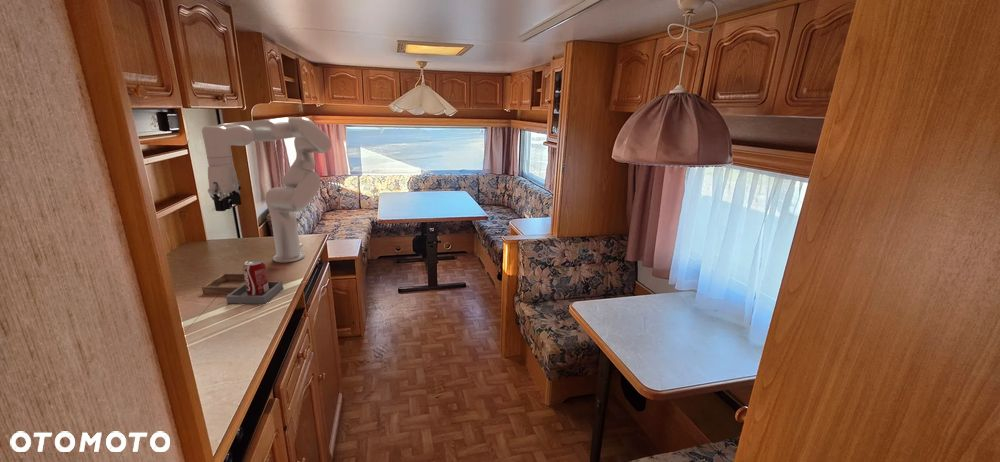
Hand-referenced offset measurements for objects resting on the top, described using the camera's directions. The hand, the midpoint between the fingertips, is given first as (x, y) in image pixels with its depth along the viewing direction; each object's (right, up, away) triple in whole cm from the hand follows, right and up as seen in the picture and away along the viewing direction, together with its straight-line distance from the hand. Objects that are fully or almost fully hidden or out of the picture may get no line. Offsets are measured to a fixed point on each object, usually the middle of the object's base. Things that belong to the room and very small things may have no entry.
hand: (229, 207), depth 150 cm
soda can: (+14, -31, -6) cm, 35 cm away
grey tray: (+14, -32, -7) cm, 36 cm away
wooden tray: (+1, -29, +1) cm, 29 cm away
